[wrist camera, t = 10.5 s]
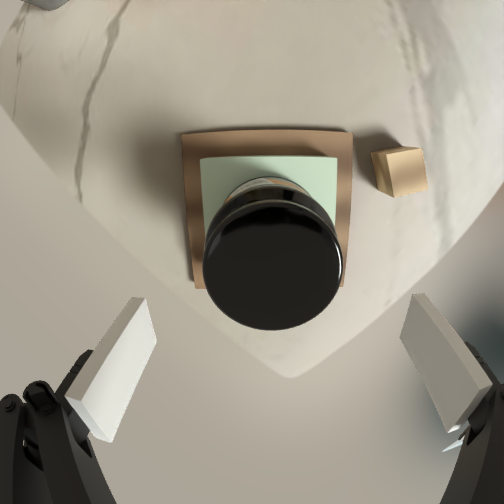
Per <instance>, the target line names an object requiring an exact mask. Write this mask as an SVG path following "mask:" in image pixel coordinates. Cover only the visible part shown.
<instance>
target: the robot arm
mask: <svg viewBox="0 0 504 504" xmlns="http://www.w3.org/2000/svg"><path fill="white" fill-rule="evenodd" d="M400 339H401V341H402V343H403V344H404V346H405V348H406V350H407V352H408V354H409V355H410V357H411V359H412V361H413V363H414V365H415V367H416V369H417V371H418V372H419V374H420V376H421V378H422V380H423V382H424V384H425V386H426V388H427V390H428V392H429V394H430V396H431V398H432V401H433V403H434V405H435V407H436V409H437V411H438V413H439V416H440V418H441V420H442V422H443V424H444V427H445V429H446V431H447V433H449V432H452V431H454V430H457V429H459V428H461V427H462V426H463V424H464V423H465V422H466V421H467V419H468V421H469V423H470V425H469V426H468V427H467V428H466V430H465V431H464V432H463V433H462V434H461V435H460V437H459V439H458V440H460V439H461V438H462V437H463V436H464V435H465V437H464V440H463V444H462V447H461V450H460V453H459V457H458V460H457V462H456V465H455V468H454V471H453V473H452V476H451V479H450V481H449V484H448V486H447V488H446V491H445V493H444V495H443V498H442V500H441V502H440V504H504V384H500V383H499V381H498V380H497V378H496V377H495V375H494V374H493V372H492V371H491V369H490V368H489V367H488V365H487V364H486V363H485V361H484V360H483V358H482V357H480V354H479V353H478V351H477V350H476V349H475V347H473V346H472V345H471V344H469V343H468V342H463V341H462V339H461V338H460V337H459V335H458V334H457V333H456V332H455V330H454V329H453V328H452V326H450V324H449V323H448V322H447V320H446V319H445V318H444V317H443V315H442V314H441V313H440V311H439V310H438V309H437V308H436V307H435V305H434V304H433V303H432V302H431V301H430V300H429V298H428V297H427V296H426V295H425V294H424V293H422V294H412V298H411V301H410V305H409V308H408V312H407V316H406V319H405V322H404V325H403V329H402V332H401V335H400ZM156 342H157V340H156V336H155V333H154V329H153V326H152V322H151V318H150V314H149V310H148V306H147V302H146V298H135V297H132V298H131V300H130V301H129V302H128V303H127V305H126V306H125V307H124V309H123V310H122V312H121V313H120V314H119V316H118V317H117V318H116V320H115V321H114V322H113V324H112V325H111V327H110V328H109V329H108V331H107V332H106V334H105V335H104V337H103V338H102V339H101V341H100V342H99V344H98V345H97V347H96V348H95V350H87V351H86V352H85V353H83V354H82V355H81V356H80V357H79V358H78V360H77V361H76V362H75V364H74V366H73V367H72V368H71V370H70V372H69V373H68V374H67V375H66V377H65V379H64V380H63V381H62V383H61V384H60V386H59V388H58V389H57V391H56V392H55V393H54V391H53V390H52V388H51V387H50V386H49V384H48V383H47V382H45V381H41V380H40V381H35V382H33V383H31V384H29V385H28V386H27V387H26V389H25V390H24V392H23V398H24V400H25V401H26V402H27V403H23V402H22V400H21V399H20V398H19V396H17V395H16V394H8V395H6V396H5V397H3V398H2V400H1V401H0V504H116V501H115V499H114V497H113V495H112V494H111V491H110V489H109V487H108V485H107V483H106V480H105V478H104V476H103V474H102V471H101V469H100V466H99V464H98V461H97V459H96V456H95V453H94V451H93V448H92V445H91V442H90V440H89V438H88V437H87V435H88V433H89V431H91V432H92V434H93V435H94V436H95V437H96V438H98V439H101V440H104V441H107V442H110V443H111V442H112V441H113V438H114V436H115V433H116V431H117V429H118V426H119V424H120V421H121V419H122V417H123V415H124V412H125V410H126V408H127V405H128V403H129V401H130V398H131V396H132V394H133V391H134V390H135V387H136V385H137V383H138V381H139V379H140V376H141V374H142V372H143V370H144V368H145V365H146V363H147V361H148V358H149V357H150V355H151V353H152V351H153V349H154V347H155V344H156ZM23 440H24V446H23Z"/></svg>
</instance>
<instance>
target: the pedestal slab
mask: <svg viewBox="0 0 504 504" xmlns="http://www.w3.org/2000/svg"><path fill="white" fill-rule="evenodd" d="M200 170H201V186H202V201H203V214H204V227H205V237H206V233H207V230H208V227H209V225H210V222H211V221H212V219H213V217H214V215H215V214H216V213H217V211H218V210H219V209H220V208H221V207H222V205H223V203H224V202H225V200H226V198H227V197H228V196H229V194H230V193H231V192H232V191H233V190H234V189H235V188H237V187H238V186H239V185H241V184H242V183H244V182H246V181H248V180H250V179H253V178H256V177H261V176H278V177H283V178H286V179H289V180H292V181H293V182H295V183H297V184H299V185H300V186H302V187H303V188H304V189H305V190H306V191H307V192H308V193H309V194H310V195H311V197H312V198H313V199H315V200H316V201H317V202H318V203H319V204H320V205H321V206H322V207H323V208H324V209H325V211H326V212H327V213H328V215H329V216H330V218H331V220H332V222H333V224H334V226H335V214H336V191H337V158H335V157H330V156H306V155H257V156H228V157H210V158H204V159H200Z"/></svg>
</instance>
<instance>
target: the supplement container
mask: <svg viewBox="0 0 504 504" xmlns="http://www.w3.org/2000/svg"><path fill="white" fill-rule="evenodd" d="M202 274H203V280H204V283H205V287H206V289H207V292H208V294H209V296H210V297H211V299H212V300H213V302H214V303H215V305H216V306H217V307H218V308H219V309H220V310H221V311H222V312H223V313H224V314H225V315H227V316H228V317H229V318H231V319H232V320H234V321H236V322H238V323H240V324H242V325H244V326H247V327H250V328H254V329H259V330H269V331H275V330H285V329H289V328H293V327H296V326H299V325H302V324H304V323H306V322H308V321H310V320H311V319H313V318H315V317H316V316H317V315H319V314H320V313H321V312H322V311H323V310H324V309H325V308H326V307H327V306H328V305H329V304H330V302H331V301H332V300H333V298H334V297H335V295H336V293H337V291H338V289H339V286H340V283H341V280H342V275H343V255H342V250H341V247H340V244H339V241H338V237H337V232H336V229H335V226H334V224H333V222H332V220H331V218H330V216H329V215H328V213H327V212H326V211H325V209H324V208H323V207H322V206H321V205H320V204H319V203H318V202H317V201H316V200H315V199H313V198H312V197H311V195H310V194H309V193H308V192H307V191H306V190H305V189H304V188H303V187H302V186H300V185H299V184H297V183H295V182H293V181H292V180H289V179H286V178H283V177H278V176H261V177H256V178H253V179H250V180H248V181H246V182H244V183H242V184H241V185H239V186H238V187H237V188H235V189H234V190H233V191H232V192H231V193H230V194H229V196H228V197H227V198H226V200H225V202H224V203H223V205H222V207H221V208H220V209H219V210H218V211H217V213H216V214H215V215H214V217H213V219H212V221H211V222H210V225H209V227H208V230H207V233H206V237H205V244H204V254H203V260H202Z"/></svg>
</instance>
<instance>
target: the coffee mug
mask: <svg viewBox="0 0 504 504" xmlns="http://www.w3.org/2000/svg"><path fill="white" fill-rule="evenodd" d="M22 1H24V2H27V3H30V4H32V5H35V6H38V7H40V8H43V9H45V10H48V11H50V10H54V9H57V8H59V7H60V6H62V5H64V4H65V3H66V2H67V1H69V0H22Z"/></svg>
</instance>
